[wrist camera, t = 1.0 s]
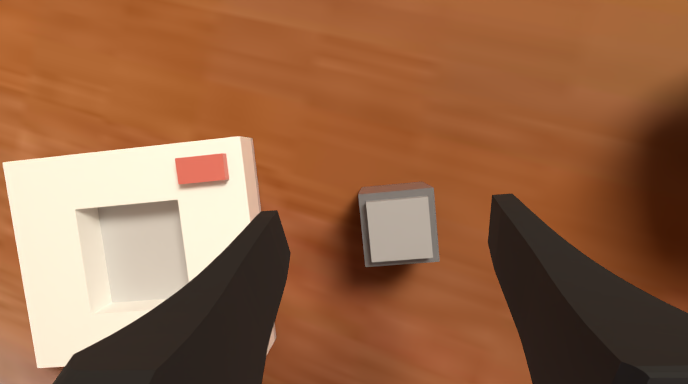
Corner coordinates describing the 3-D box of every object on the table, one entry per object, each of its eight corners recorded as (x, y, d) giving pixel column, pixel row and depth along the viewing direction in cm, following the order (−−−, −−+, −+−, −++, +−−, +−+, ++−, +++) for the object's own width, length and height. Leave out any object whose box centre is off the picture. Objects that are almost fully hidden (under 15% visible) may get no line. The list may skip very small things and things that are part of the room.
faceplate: (276, 338, 27) (263, 360, 24) (65, 350, 28) (29, 372, 25) (252, 138, 26) (236, 135, 23) (35, 161, 27) (-7, 162, 24)
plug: (427, 241, 26) (441, 264, 20) (367, 246, 26) (364, 270, 20) (422, 181, 25) (435, 188, 20) (361, 187, 26) (357, 195, 20)
